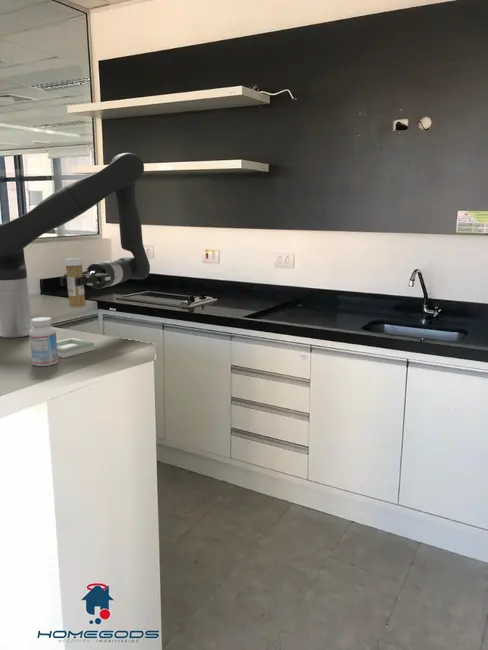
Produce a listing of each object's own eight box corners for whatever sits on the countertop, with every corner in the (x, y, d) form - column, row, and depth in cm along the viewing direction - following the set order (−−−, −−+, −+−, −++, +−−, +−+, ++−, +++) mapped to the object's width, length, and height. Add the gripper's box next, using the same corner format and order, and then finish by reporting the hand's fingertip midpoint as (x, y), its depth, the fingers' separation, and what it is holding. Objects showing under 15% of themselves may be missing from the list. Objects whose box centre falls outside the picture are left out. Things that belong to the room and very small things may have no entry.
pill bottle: (49, 358, 139) (45, 315, 137) (63, 362, 135) (59, 318, 133) (27, 364, 135) (22, 319, 132) (40, 368, 131) (36, 322, 128)
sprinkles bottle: (88, 306, 152) (84, 258, 149) (71, 308, 150) (67, 259, 147) (82, 304, 156) (78, 256, 153) (66, 306, 154) (62, 258, 151)
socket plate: (41, 351, 146) (40, 344, 146) (73, 344, 154) (73, 337, 153) (63, 357, 140) (62, 350, 139) (95, 349, 147) (95, 342, 147)
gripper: (83, 261, 166) (46, 267, 150) (124, 262, 161) (90, 268, 146) (85, 285, 168) (48, 294, 152) (126, 287, 163) (92, 296, 147)
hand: (69, 282), depth 149 cm, fingers closed on sprinkles bottle, 4 cm apart
